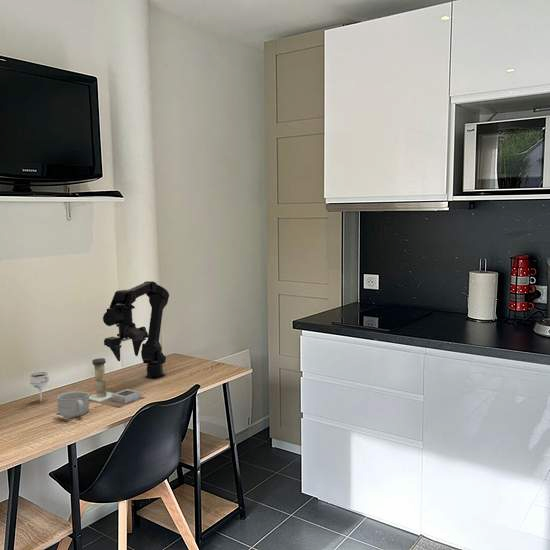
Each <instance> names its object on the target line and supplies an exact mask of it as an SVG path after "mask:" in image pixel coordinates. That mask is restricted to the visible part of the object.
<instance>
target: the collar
mask: <svg viewBox="0 0 550 550" xmlns="http://www.w3.org/2000/svg"><path fill="white" fill-rule="evenodd" d="M141 397H142V391H140V390H139V391H138V390H135V389H134V390H133V389H129V388H126V389H122V390H120V391H118V392H117V393H114V394H111V398H112V401H114V402H118V403H123V404H127V403H130V402H132V401H135V400H138V399H140V398H141ZM138 401H139V400H138Z"/></svg>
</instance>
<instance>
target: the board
mask: <svg viewBox="0 0 550 550" xmlns="http://www.w3.org/2000/svg"><path fill="white" fill-rule="evenodd" d="M106 392H110V393H117V392H119V391H118V390H113V389H110V388H108V389H107V388H106ZM94 394H95V393H94ZM94 394H93V393H92V394H91V395H94ZM91 395H90V394H89V396H91ZM143 399H146V397H145V396H141V398H140V399H138V400H135V401H132V402H130V403H127V404H123V403H118V402H114V401H112V398H111V399H108V400H105V401H103V402H100V403H99V402H95V401H91V400H89V402H92V403H97V404H101V405H105V406H109V407H113V408H117V409H119V408H123V407H125V406H127V405H130V404H133V403H135V402H139V401H141V400H143Z"/></svg>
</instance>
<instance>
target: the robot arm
mask: <svg viewBox="0 0 550 550" xmlns="http://www.w3.org/2000/svg"><path fill="white" fill-rule="evenodd" d="M144 295H145V296H147V297H148V302H149V305H150V307H151V311H150V319H149V320H150V321H149V328H148V332H147V328H146V326H140V327H137V326H136V323H135V322H133V309H135V308H136V307H135V306H134V305H133V303H135V302H136V301H137V298H139V297H142V296H144ZM169 298H170V292H169V291H168V289H166V288H164V287H163V286H161V285H159V284H158V283H157V282H156V281H153V280H151V281H147V280H146V281H144V282H143V283H140V284H139V285H136V286H134V287H131V288H129V289H121V290H116V291H115V292H114V294H113V297H112V298H111V299H112V300H111V302H110V304H109V307H108V308H106V312H104V313H103V316H102V321H103V324H105V325H106V326H108V327H111V326H114V325H115V326H116V327H118V333H117V334H116V336H117V337H116V336H109V337H106V338H104V340H103V346H106V347H107V348H109V349H110V351H111V352H112V353H113V355H114V357H115V358H116V359H115V360H117V361H118V362H121V347H122V345H121V344H122V342H126V341H130V340H131V342H132V346H133V352H134V356H135V357H138V355H139V353H140V354H141V357H140V358H141V359H142V362H143V364H146V375H145V378H148V379H155V380H156V379H158V378H162V377H164V375H165V376H166V373H164V371H163V370H164V369H163V368H164V367H163V364H165V363H166V361H167V357H166V356H165V355H164V354H163V352H162V346H161V343H160V337H161V336H160V335H161V328H162V327H161V326H162V318H163V312H164V308H165V307H166V306H167V305H168V302H169ZM144 341H146V342H145V343H143V342H144ZM140 349H141V350H140ZM161 376H162V377H161Z"/></svg>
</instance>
